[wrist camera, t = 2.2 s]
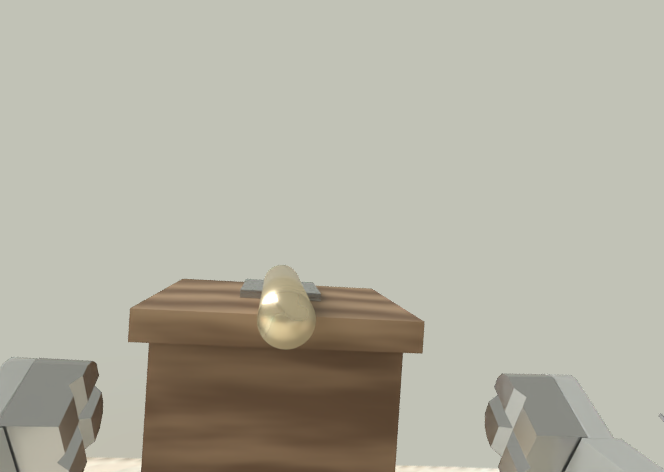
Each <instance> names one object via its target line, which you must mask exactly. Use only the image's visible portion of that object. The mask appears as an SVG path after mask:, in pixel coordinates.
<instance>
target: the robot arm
mask: <svg viewBox="0 0 664 472" xmlns="http://www.w3.org/2000/svg"><path fill="white" fill-rule="evenodd" d="M98 376H99V374H98V369H97V364H96V363H95V362H93V361H83V360H65V359H47V358H39V359H37V358H19V357H11V358H10V359H8V360H7V361H5V362H4V363H3V364H2V366H1V368H0V472H83V471H84V468H85V466H86V463H87V459H86V454H85V449H86V448H87V447H88V446H89V445H91V444H92V443H93V442H95V440H96V437H97V434H98V431H99V429H100V424H101V419H102V414H103V398H102V392H101V391H100V390H99V389H98V388H97V387H95V383H96V381H97V379H98ZM495 390H496V392H497V394H498V395H497V396H496V397H495V398H493V399H492V400H491V401H489V403H488V406H487V409H486V412H485V429H486V435H487V438H488V441H489V444H490V447H491V448H492V449H493V450H494V451H495V452H496V453H498V454H499V455H500V456H501V457H502V458H501V460H500V463H499V466H498V468H499V470H500V472H664V469H663V468H661V467H660V466H659V465H657V464H656V463H655V462H653V461H652V460H650V459H649V458H647V457H646V456H645V455H643V454H642V453H641V452H639V451H638V450H636V449H635V448H634V447H632V446H631V445H630V444H628V443H627V442H625V441H624V440H622V439H615V438H614V437H613V435H612V434H611V432H610V431H609V429H608V428H607V426H606V424H605V423H604V421H603V420H602V418H601V416H600V415H599V413H598V412H597V410H596V409H595V407H594V405H593V404H592V402H591V401H590V399H589V397H588V396H587V394H586V393H585V391H584V390H583V388H582V387H581V385H580V383H579V382H578V380H577V379H576V378H575V377H573V376H572V375H544V374H541V375H540V374H501V375H500V376H499V377H498V378H497V381H496V384H495Z"/></svg>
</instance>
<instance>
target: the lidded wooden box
mask: <svg viewBox="0 0 664 472" xmlns="http://www.w3.org/2000/svg"><path fill="white" fill-rule="evenodd" d="M243 284H244V282H233V281H215V280H214V281H213V280H194V279H182V280H180V281H178V282H177V283H175V284H173V285H171V286H169V287H167V288H166V289H164V290H162V291H160V292H158V293H157V294H155V295H153V296H151V297H150V298H148V299H146V300H144V301H142V302H141V303H139V304H137V305H135V306H134V307H132V308H130V318H129V335H128V342H142V343H149V353H148V369H147V385H146V403H145V419H144V434H143V451H142V467H141V472H395V462H396V449H397V434H398V418H399V403H400V388H401V372H402V358H403V353H422V352H423V337H424V321H422V320H421V319H419V318H417V317H416V316H414V315H413V314H411V313H409V312H408V311H406V310H405V309H403V308H401V307H400V306H398V305H397V304H395V303H394V302H392V301H390V300H389V299H387V298H386V297H384V296H382V295H381V294H379V293H378V292H376V291H374V290H373V289H366V288H348V287H346V288H345V287H329V286H316V287H317V289H318V290H319V292H320V293H321V301H320V302H317V301H310V302H311V304H312V306H313V308H314V311H315V315H316V325H315V329H314V331H313V333H312V335H311V337H310V338H309V339H308V340H307V341H306V342H305V343H304V344H302V345H301V346H299V347H297V348H293V349H278V348H275V347H273V346H271V345H270V344H268V343H267V342H266V341H265V340H264V339H263V338H262V336H261V335H260V332H259V330H258V326H257V315H258V310H259V305H260V299H256V298H240V289H241V288H242V286H243Z"/></svg>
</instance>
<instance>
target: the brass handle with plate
mask: <svg viewBox="0 0 664 472" xmlns="http://www.w3.org/2000/svg"><path fill="white" fill-rule="evenodd" d="M240 298H256V299H260V305H259V310H258V315H257V326H258V330H259V332H260V335H261V336H262V338H263V339H264V340H265V341H266V342H267V343H268V344H270V345H271V346H273V347H275V348H278V349H293V348H297V347H299V346H301V345H302V344H304V343H305V342H306V341H307V340H308V339H309V338H310V337H311V335H312V333H313V331H314V329H315V325H316V315H315V311H314V308H313V306H312V304H311V302H310V301H317V302H320V301H321V293H320V292H319V290H318V289H317V287H316V286H315V285H314V283H311V282H301V281H300V279H299V277H298V275H297V273H296V272H295V271H294V270H293V269H292V268H290V267H289V266H286V265H278V266H275V267H273V268H271V269H270V270H269V271H268V272H267V274H266V276H265V279H264V280H254V279H246V280H245V282H244V284H243V286H242V288H241V289H240Z"/></svg>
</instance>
